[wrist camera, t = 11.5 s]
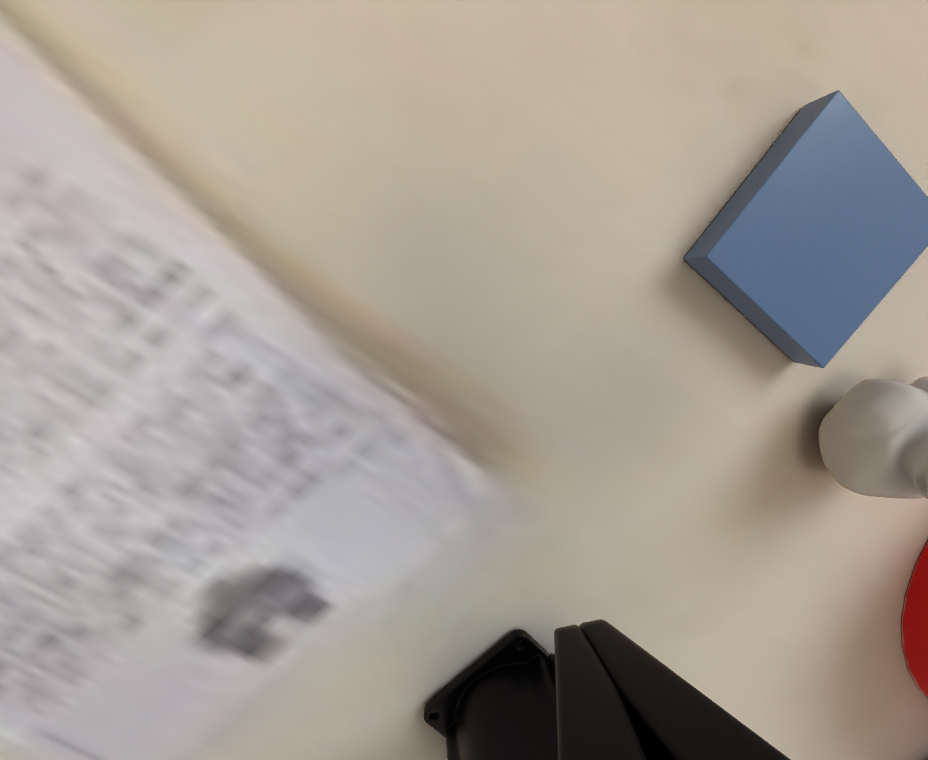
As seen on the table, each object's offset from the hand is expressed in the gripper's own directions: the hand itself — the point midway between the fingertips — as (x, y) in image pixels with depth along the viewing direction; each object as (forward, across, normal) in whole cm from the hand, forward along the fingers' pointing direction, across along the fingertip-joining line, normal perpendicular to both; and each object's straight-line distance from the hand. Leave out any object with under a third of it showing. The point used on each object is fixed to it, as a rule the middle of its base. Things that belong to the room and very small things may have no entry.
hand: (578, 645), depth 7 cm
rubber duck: (+12, -18, +3) cm, 22 cm away
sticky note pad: (+12, -15, -6) cm, 20 cm away
